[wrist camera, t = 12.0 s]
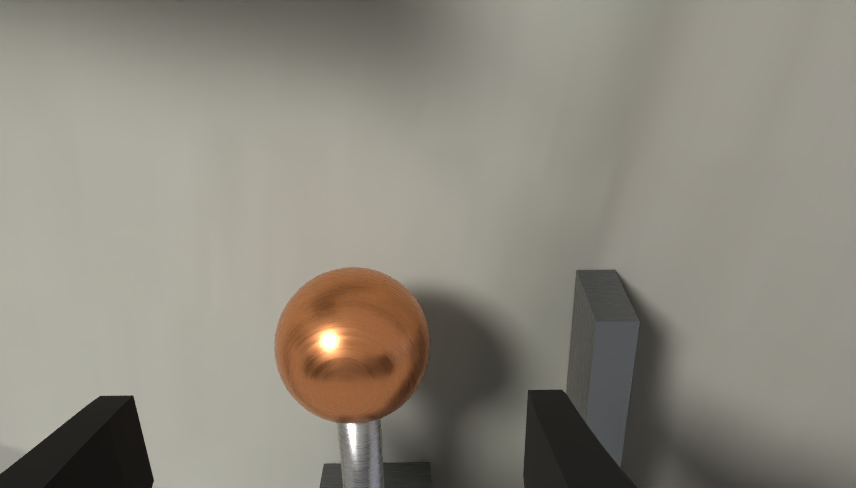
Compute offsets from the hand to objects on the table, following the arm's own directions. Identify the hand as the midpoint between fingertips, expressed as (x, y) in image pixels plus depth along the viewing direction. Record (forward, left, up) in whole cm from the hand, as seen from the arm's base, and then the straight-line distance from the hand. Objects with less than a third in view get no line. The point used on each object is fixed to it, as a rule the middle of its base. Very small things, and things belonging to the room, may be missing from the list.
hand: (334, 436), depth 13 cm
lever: (0, +6, -5) cm, 8 cm away
